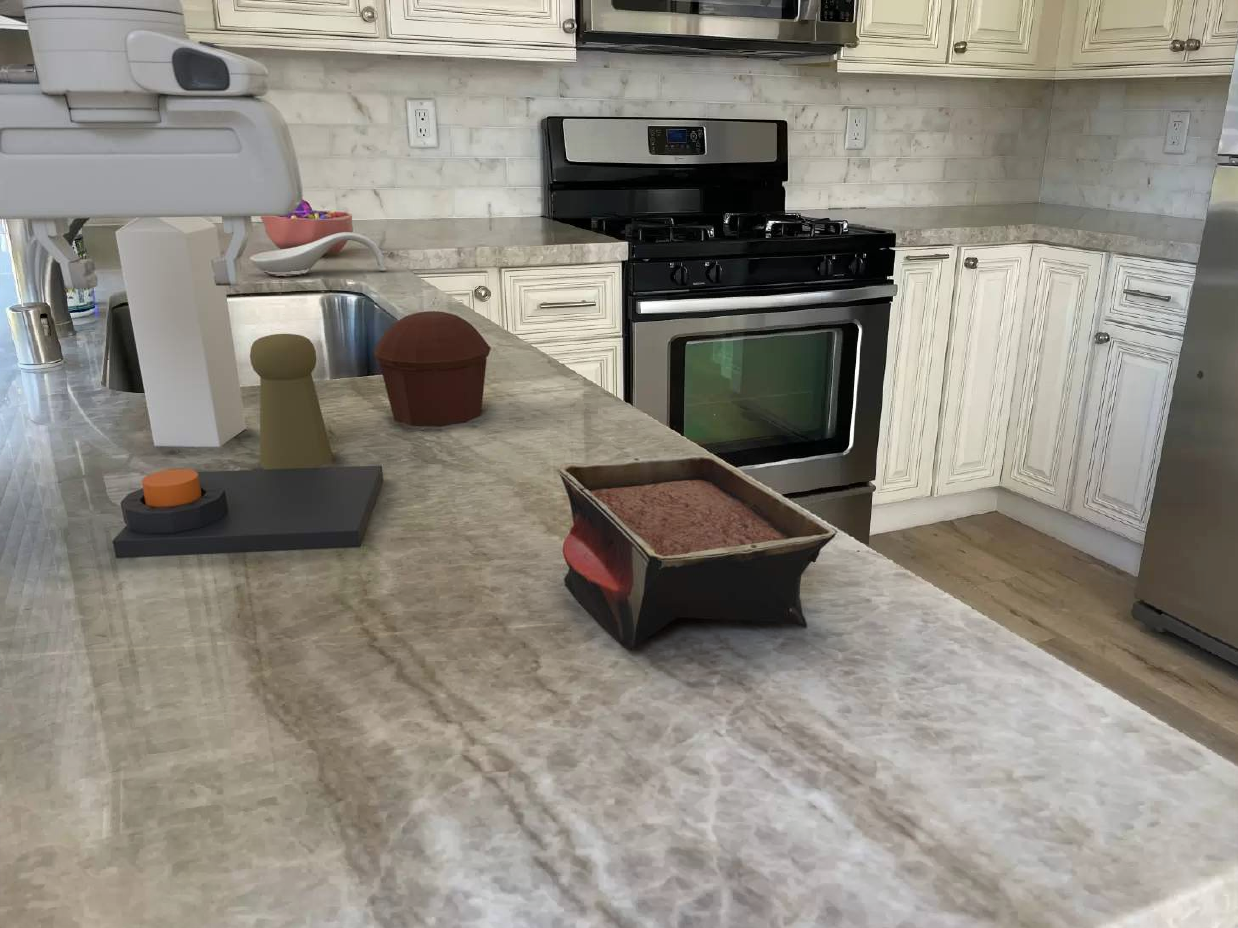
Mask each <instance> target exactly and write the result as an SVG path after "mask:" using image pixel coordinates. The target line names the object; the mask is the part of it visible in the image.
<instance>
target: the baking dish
mask: <svg viewBox="0 0 1238 928" xmlns="http://www.w3.org/2000/svg"><path fill="white" fill-rule="evenodd" d="M556 472H557V473H558V475H559V477H560V478H561V482H562V483H563V485H564V488H565V491H566V494H567V496H568V500H569V504H570V505H569V506H570V510H571V518H572V523H573V525H572V527H571V528H570V531H569V533H568V535H567V536H566V538H565V539H564V542H563V546H562V554H563V555H562V556H563V559H564V560H565V562H566V564H567V567H568V572H567V574H566V575H565V577H564V578H563V580H564V585H565V586H566V588H567V589H568V591H569V592H570V594H571V595H572V596H573V597H574V599H575V600H576V601H577V603H579V605H580V606H582V607H583V608H584V610H585V611H587V613H588V614H589V615H590V616H591V618H593V619H594V620H595V621H596V622H597V623H598V624H599V625H600V627H601V628H603V630H604V631H606V632H607V633H608V634H609V635H610V636H611V637H612V638H613V639H614V640H615V641H616V642H617V643H619V644H620V645H621V646H622V647H623V648H624V649H626V650H627V651H631V650H632V649H633V648H634V647H636V646H638V645H639V644H640V643H642V642H644V641H645V640H646V639H648V638H650V637H651V636H652V635H654V634H655V633H657V632H658V631H660V630H661V629H663V628H664V627H665V626H667V625H669V624H670V623H672V622H673V621H675V620H676V619H677V618H684V619H685V618H687V619H709V620H710V619H711V620H732V621H733V620H736V621H757V622H758V621H759V622H776V623H782V624H787V625H792V626H793V625H794V626H800V627H804V628H808V624H807V620H806V617H805V616H804V613H803V608H802V603H801V602H802V601H801V581H802V575H803V573H804V572H805V571H807V568H808V567H809V566H810V565H811V563H816V562H817V559H818V558H819V555H820V553H821V550H822V549H823V548H824V547H825V546H827V544H829V542H830V541H832V540H833V539H834V538H835V537H836V535H837V533H838V530H837V529H835V528H834V527H831V526H829V525H827V523H824V522H823V521H822V520H820V519H818V518H816V517H815V516H813V515H811V514H810V513H808V512H807V511H805V510H803V509H801V508H800V507H797V506H796V505H794V504H793V503H791V502H789V501H788V500H785V499H784V498H783V497H782V496H779V495H777V494H776V493H774V492H772V491H771V490H770V489H768V488H765V487H764V486H763V485H762V484H760V483H758V482H757V481H755V480H753V479H751V478H749V477H748V476H746V475H745V474H743V473H742V472H740V471H739V470H738V469H736V468H733V467H732V466H730V465H729V464H727V463H726V462H724V461H722V460H721V459H719V458H715V457H713V456H707V455H702V454H700V455H696V454H692V455H667V456H666V455H665V456H664V455H663V456H649V457H638V458H619V459H618V458H617V459H608V460H597V461H586V462H582V463H578V462H577V463H571V464H566V465H564V466H560V467H559V468H557V471H556Z"/></svg>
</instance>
